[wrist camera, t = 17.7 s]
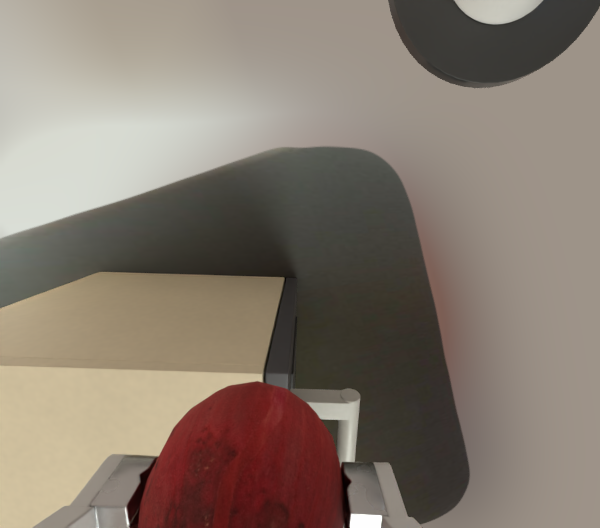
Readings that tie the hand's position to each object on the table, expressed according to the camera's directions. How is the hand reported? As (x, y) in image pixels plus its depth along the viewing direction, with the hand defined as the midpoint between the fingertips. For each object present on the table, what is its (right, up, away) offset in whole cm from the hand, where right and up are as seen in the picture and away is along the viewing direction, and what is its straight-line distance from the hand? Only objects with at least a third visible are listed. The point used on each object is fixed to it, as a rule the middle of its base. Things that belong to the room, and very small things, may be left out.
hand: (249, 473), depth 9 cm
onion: (0, +1, +3) cm, 3 cm away
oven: (-15, -10, +37) cm, 42 cm away
